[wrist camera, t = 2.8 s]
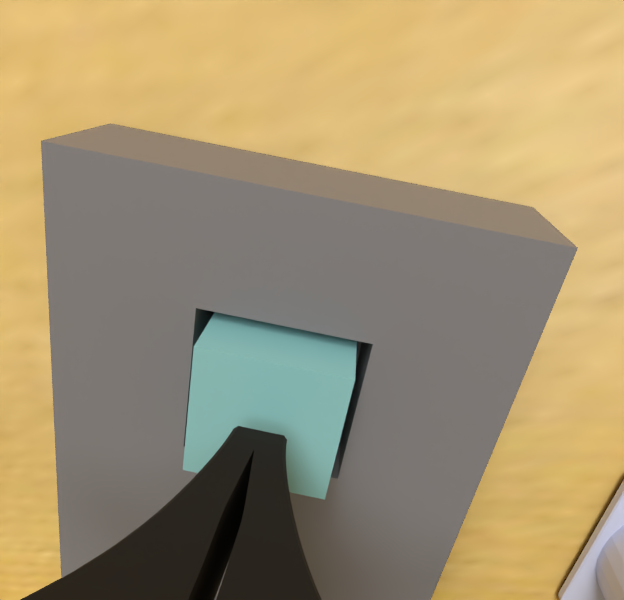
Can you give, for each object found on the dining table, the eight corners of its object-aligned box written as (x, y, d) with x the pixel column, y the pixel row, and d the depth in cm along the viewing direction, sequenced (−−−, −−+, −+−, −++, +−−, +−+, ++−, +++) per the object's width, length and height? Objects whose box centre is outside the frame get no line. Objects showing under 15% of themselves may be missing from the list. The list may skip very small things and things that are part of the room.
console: (533, 207, 17) (577, 247, 13) (361, 676, 28) (360, 767, 24) (110, 123, 17) (41, 140, 14) (106, 621, 28) (67, 704, 25)
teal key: (357, 324, 17) (355, 379, 14) (331, 431, 19) (324, 499, 16) (223, 297, 17) (193, 346, 14) (211, 406, 19) (182, 469, 16)
